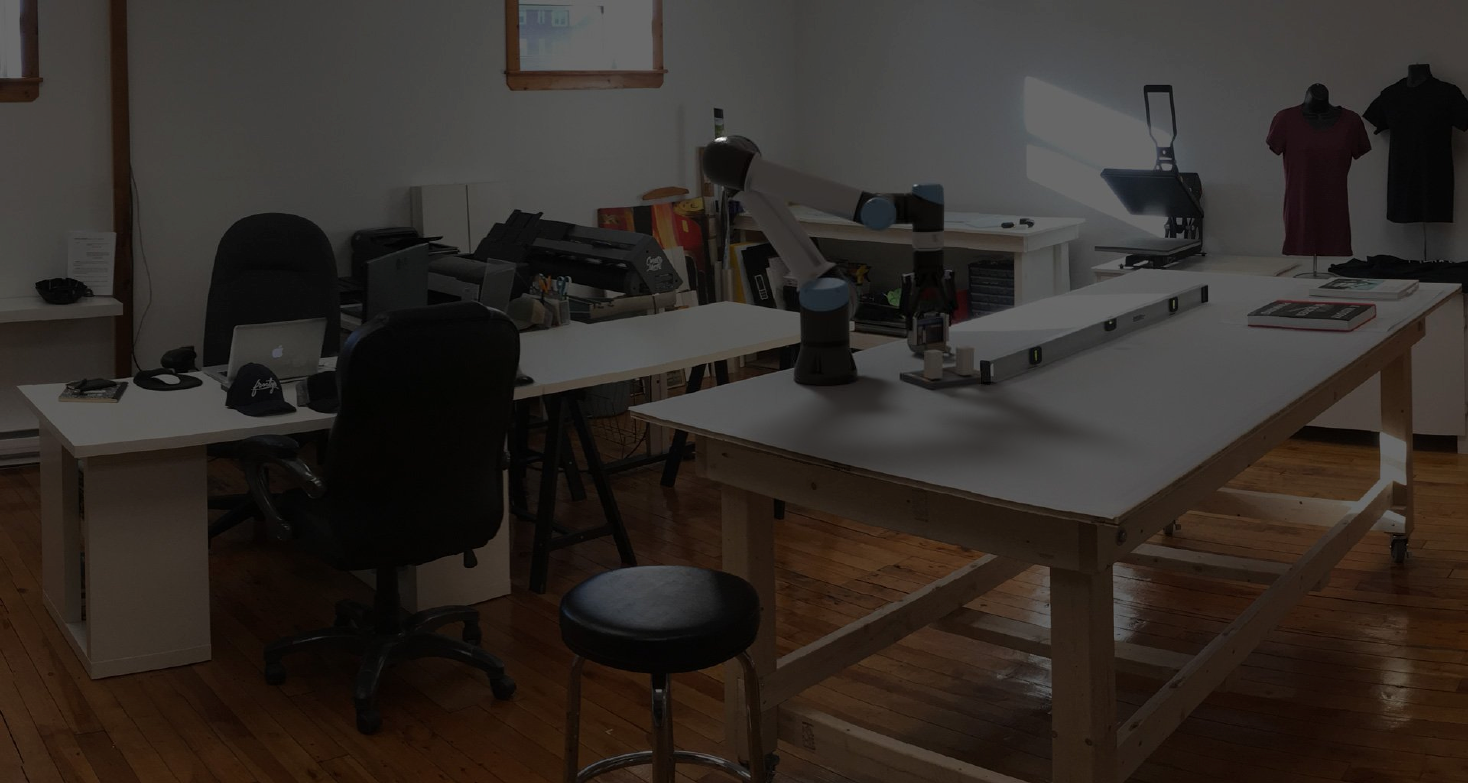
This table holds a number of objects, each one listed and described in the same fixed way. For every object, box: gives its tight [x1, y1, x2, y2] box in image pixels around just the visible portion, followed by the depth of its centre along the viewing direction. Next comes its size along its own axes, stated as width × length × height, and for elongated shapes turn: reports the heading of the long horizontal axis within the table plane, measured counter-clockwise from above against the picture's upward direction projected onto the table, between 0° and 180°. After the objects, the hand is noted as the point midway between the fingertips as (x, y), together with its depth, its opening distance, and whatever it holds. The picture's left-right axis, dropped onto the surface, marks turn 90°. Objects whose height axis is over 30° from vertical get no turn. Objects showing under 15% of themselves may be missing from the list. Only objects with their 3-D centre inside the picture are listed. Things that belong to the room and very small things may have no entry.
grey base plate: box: [899, 365, 982, 391], centre depth 301 cm, size 17×14×2 cm
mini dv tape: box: [916, 316, 944, 346], centre depth 312 cm, size 8×2×6 cm, turn 122°
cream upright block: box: [923, 350, 943, 379], centre depth 295 cm, size 3×3×6 cm
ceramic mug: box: [906, 336, 952, 356], centre depth 333 cm, size 11×8×8 cm
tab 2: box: [955, 345, 975, 375], centre depth 299 cm, size 3×3×6 cm
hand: (928, 342), depth 313 cm, fingers closed on mini dv tape, 8 cm apart
